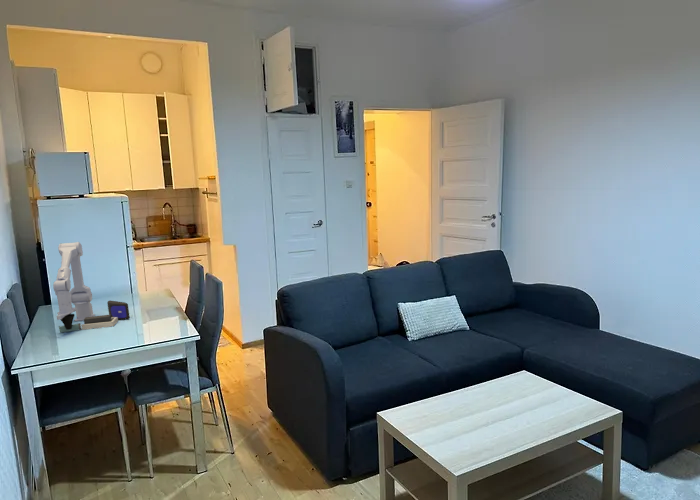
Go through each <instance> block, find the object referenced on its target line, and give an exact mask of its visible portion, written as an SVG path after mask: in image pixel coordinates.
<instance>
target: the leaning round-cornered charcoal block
mask: <svg viewBox="0 0 700 500" xmlns="http://www.w3.org/2000/svg"><path fill="white" fill-rule="evenodd" d="M107 309H108V310H107V311H108V315H110V314H111V318H112V317H118V321H124V320H126V321H127V320H129V319H130V318H131V316H130V311H129V304H128V303H127V302H125V301H116V300H108V301H107Z"/></svg>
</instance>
